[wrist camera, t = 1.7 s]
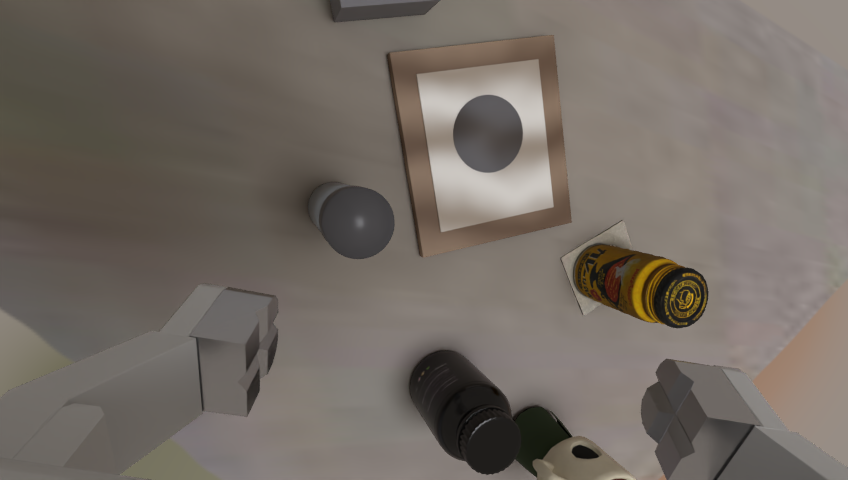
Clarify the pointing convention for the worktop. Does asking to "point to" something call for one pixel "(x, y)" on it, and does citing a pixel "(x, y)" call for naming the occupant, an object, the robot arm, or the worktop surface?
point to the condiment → (634, 281)
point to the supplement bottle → (465, 412)
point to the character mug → (562, 451)
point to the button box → (378, 8)
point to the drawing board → (481, 141)
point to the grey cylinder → (352, 219)
